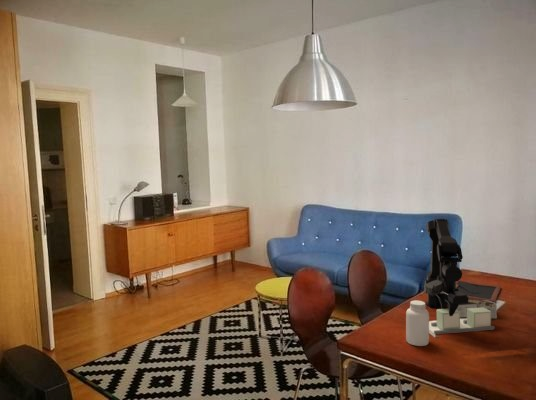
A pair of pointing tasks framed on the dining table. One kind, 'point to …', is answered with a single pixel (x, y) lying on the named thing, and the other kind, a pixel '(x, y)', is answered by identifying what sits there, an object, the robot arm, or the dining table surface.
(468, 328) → the shelf
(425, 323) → the pill bottle
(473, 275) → the dining table surface
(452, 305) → the robot arm
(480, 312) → the faced box
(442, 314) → the pale green box
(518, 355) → the dining table surface
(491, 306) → the coffee box
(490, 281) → the dining table surface
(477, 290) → the picture frame
